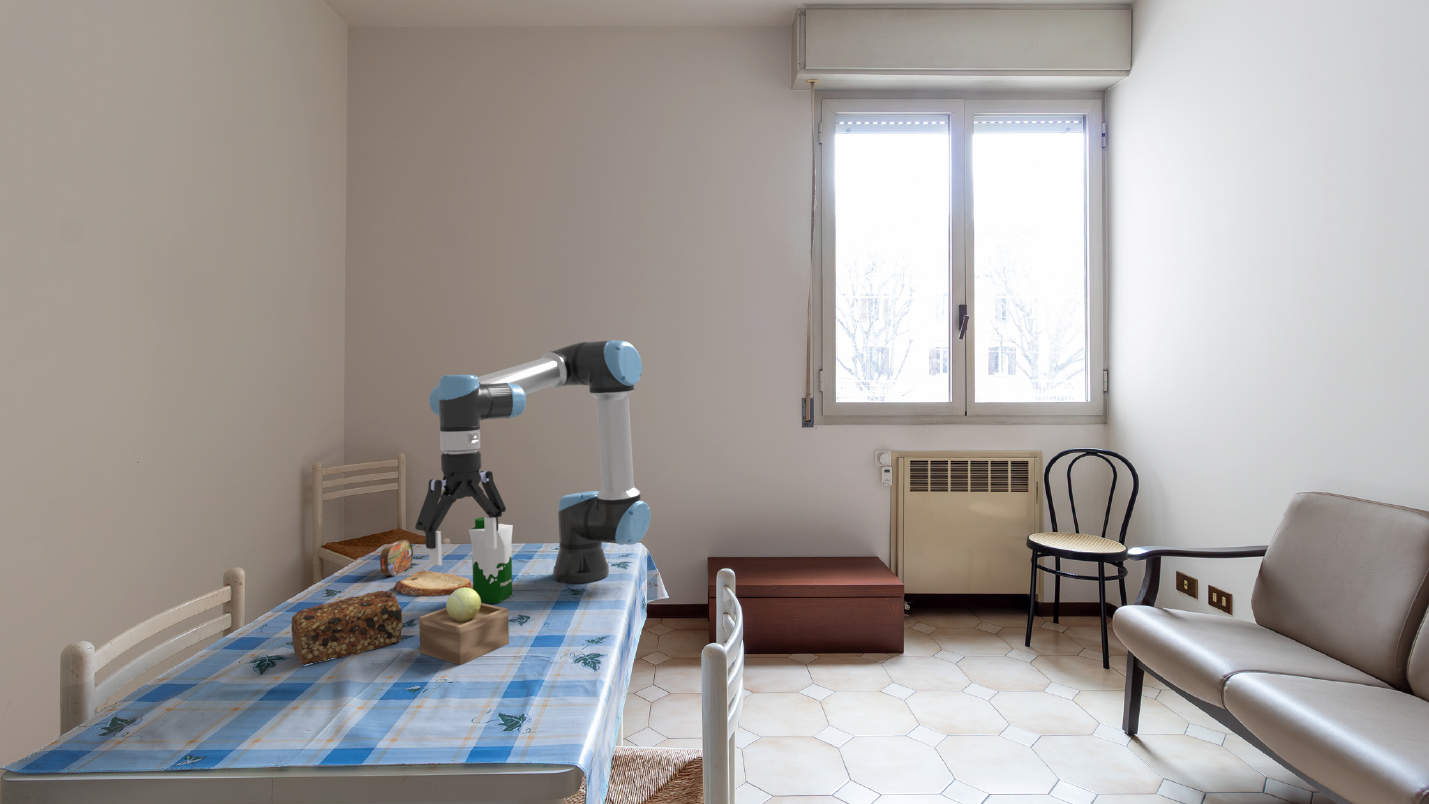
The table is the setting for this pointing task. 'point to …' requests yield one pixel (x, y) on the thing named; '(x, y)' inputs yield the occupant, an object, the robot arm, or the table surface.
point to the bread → (347, 627)
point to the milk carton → (492, 563)
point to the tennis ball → (463, 604)
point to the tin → (396, 558)
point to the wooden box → (463, 634)
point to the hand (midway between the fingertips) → (464, 556)
